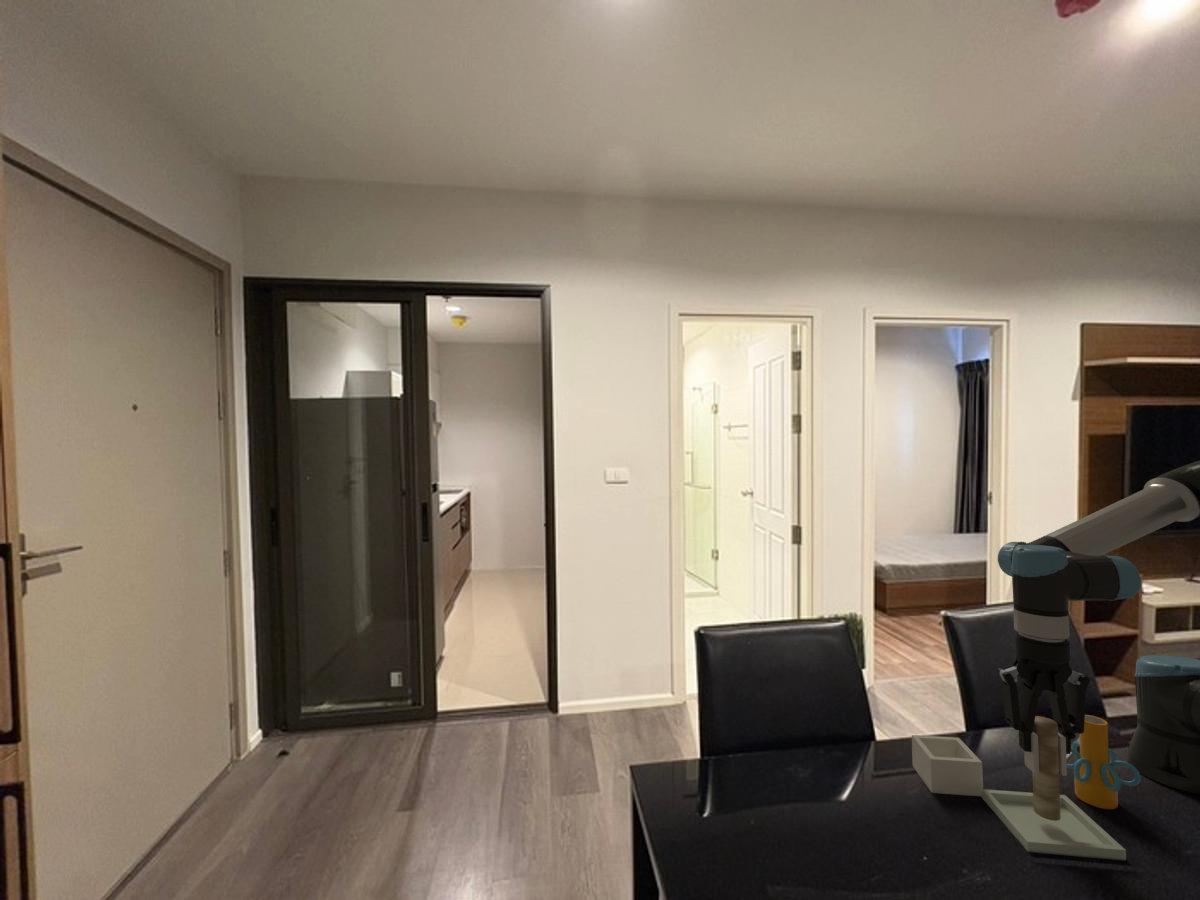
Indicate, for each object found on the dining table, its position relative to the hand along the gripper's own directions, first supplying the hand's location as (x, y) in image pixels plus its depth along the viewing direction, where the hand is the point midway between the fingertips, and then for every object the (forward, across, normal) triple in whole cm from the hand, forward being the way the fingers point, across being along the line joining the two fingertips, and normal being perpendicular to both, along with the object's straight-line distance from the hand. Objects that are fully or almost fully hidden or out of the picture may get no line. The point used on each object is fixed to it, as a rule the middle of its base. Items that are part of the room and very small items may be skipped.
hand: (1045, 769), depth 93 cm
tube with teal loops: (+11, -14, -10) cm, 20 cm away
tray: (+10, 0, 0) cm, 10 cm away
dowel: (+7, 0, 0) cm, 7 cm away
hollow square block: (+10, +11, -12) cm, 19 cm away
